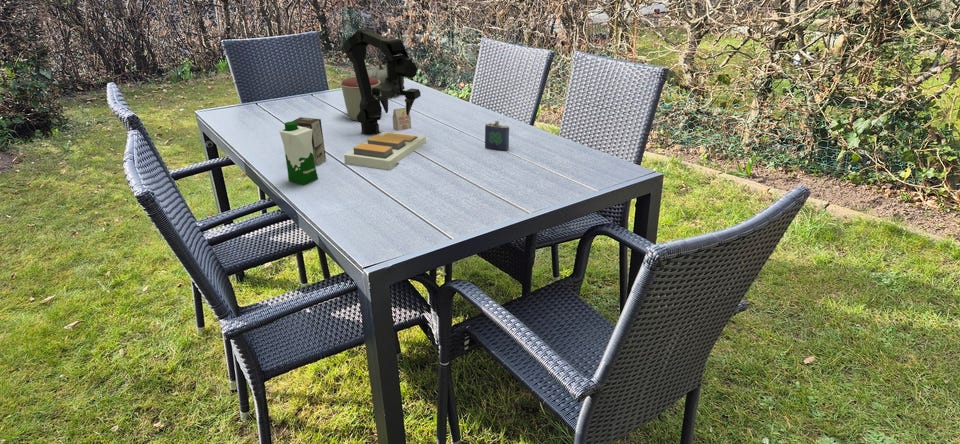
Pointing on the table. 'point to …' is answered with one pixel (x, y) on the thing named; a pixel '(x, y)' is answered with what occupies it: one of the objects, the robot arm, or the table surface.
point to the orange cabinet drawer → (401, 136)
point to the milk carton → (299, 153)
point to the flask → (496, 137)
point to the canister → (354, 95)
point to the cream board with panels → (389, 161)
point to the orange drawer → (387, 141)
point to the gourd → (379, 73)
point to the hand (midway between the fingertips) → (397, 114)
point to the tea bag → (401, 119)
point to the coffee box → (314, 137)
